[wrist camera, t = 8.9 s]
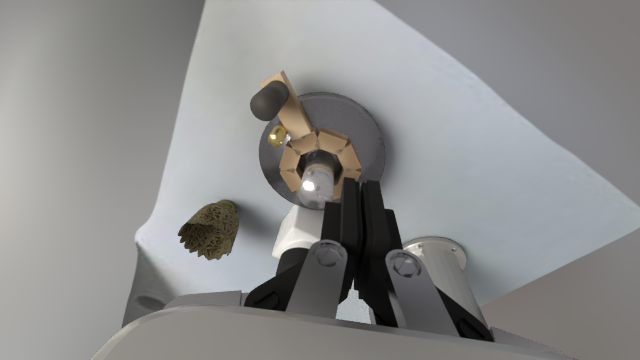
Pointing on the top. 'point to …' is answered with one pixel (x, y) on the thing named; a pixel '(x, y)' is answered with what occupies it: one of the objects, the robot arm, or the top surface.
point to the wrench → (302, 133)
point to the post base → (318, 162)
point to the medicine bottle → (297, 236)
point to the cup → (211, 230)
